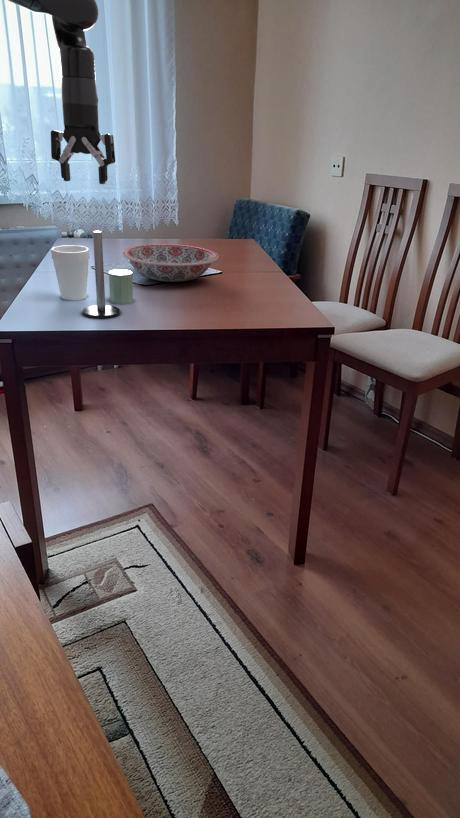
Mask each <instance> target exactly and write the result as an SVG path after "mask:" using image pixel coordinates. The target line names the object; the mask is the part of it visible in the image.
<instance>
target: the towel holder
mask: <svg viewBox="0 0 460 818" xmlns="http://www.w3.org/2000/svg"><path fill="white" fill-rule="evenodd" d="M92 240H93V258H94V275H95V292H96V295H95V297H96V304H95V305H90V306H86V307H84V308H83V309H82V315H83V316H84V317H85V318H88V319H92V320H110V319H115V318H117V317H119V316H120V315H121V309H120V308H119V307H117V306H114V305H109V304H106V292H105V291H106V290H105V272H104V270H105V269H104V251H103V231H101V230H94V231H92Z"/></svg>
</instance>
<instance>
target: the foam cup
mask: <svg viewBox="0 0 460 818" xmlns="http://www.w3.org/2000/svg"><path fill="white" fill-rule="evenodd" d="M50 253H51V259H52V263H53V267H54V271H55V275H56V280H57V284H58V288H59V293H60V297H61V299H63V300H65V301H66V300H67V301H81V300H84V299H86V298H87V291H88V276H89V262H90V255H91V254H90V248H89V247H87V246H84V245H73V244H68V245H67V244H65V245H56V246H52V248H51V249H50Z"/></svg>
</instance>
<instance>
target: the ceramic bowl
mask: <svg viewBox="0 0 460 818" xmlns="http://www.w3.org/2000/svg"><path fill="white" fill-rule="evenodd" d="M121 255H122V257H123V258H125V259H127V260H128V261H129V263H130V265H131V266H132V267H133V268H134V269H135V271H136V272H138V273H139V274H140V275H142V276H143V277H145V278H147V279H151V280H153V281H158V282H164V283H165V282H166V283H167V282H168V283H180V282H188V281H192V280H195V279H197V278H199V277H201V276H203V274H204V273H206V272H207V270H208V269H209V268H210V266H211V265H212V263H214V262H216V261H218V260H219V254H218V253H217V252H215V251H214V250H211V249H208V248H205V247H199V246H194V245H186V244H178V243H177V244H176V243H149V244H141V245H139V244H138V245H134V246H130V247H127V248H125V249H123V250H122V252H121Z"/></svg>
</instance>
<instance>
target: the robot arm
mask: <svg viewBox="0 0 460 818" xmlns="http://www.w3.org/2000/svg"><path fill="white" fill-rule="evenodd" d="M7 1H9V2H11V3H13V4H15V5H17V6H19V7H21V8H23V9H25V10H28V11H30V12H33V13H35V14H46V15H49V16H50V17H51V19H52V20H51V21H52V27H53V31H54V35H55V40H56V43H57V47H58V49H59V54H60V55H59V56H60V58H59V59H60V60H59V61H60V70H61V71H60V75H61V84H60V85H61V88H60V89H61V104H62V119H63V126H64V129H63V131H60V130H56V129H55V130H51V131H50V157H51V159H52V160H55V161H57V162H59V166H60V176H61V178H62V179H63V182H71V167H70V163H69V161H70V160H71V159H72V157H73V156H74V155H75V154H84V155H91V156H92V157H93V158H94V160H95V161H96V162H97V163H98V165H99V166H98V183H99V185H105V184H106V182H108V177H109V176H108V166H109V165H112V164H115V163H116V152H115V142H114V141H115V140H114V135H113V134H112V133H105V134H101V133H100V123H99V121H100V120H99V119H100V118H99V97H98V87H97V81H96V62H95V54H94V51H93V50H92V49H91V48H90V46H88V45H87V39H86V35H85V31H88V30H90V29H91V28H93V27H94V26H95V25H96V23H97V21H98V19H99V8H98V4H97V2H96V0H7ZM63 140H64V141H65V142H66V145H65V147H64V149H63V150H62V149H61V148H62V144H61V142H63ZM101 141H102V144H103V145H104V149H105V150H104V151H105V156H104V153H103V151H102V150H101V148H100V147H99V144H100V143H101Z"/></svg>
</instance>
